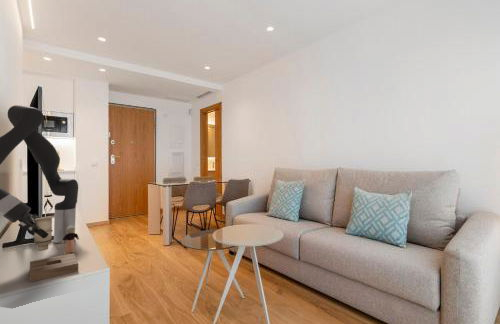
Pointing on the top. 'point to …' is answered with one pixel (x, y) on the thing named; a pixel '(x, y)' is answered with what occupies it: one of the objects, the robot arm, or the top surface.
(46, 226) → the beech peg
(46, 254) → the top surface
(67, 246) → the grandmother figurine
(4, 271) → the top surface
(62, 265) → the walnut board
